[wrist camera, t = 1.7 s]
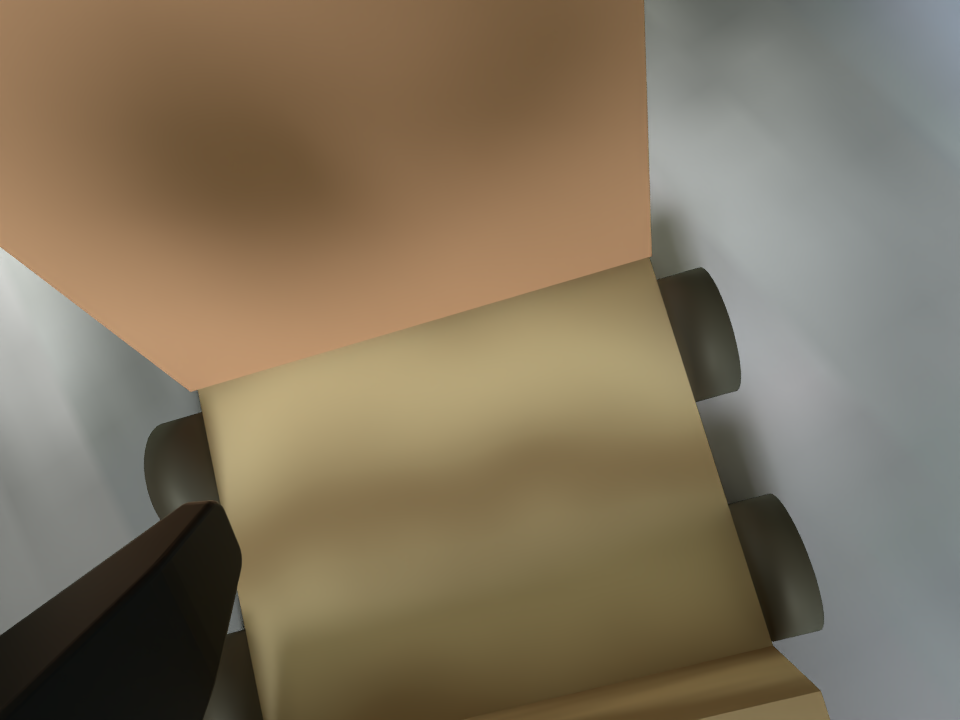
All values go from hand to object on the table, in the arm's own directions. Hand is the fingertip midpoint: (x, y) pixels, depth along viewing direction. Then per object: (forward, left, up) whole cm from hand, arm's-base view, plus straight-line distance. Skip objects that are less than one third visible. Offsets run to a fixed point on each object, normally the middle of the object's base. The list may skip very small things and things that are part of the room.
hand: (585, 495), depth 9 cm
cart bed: (-3, +2, -14) cm, 14 cm away
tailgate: (0, +7, -12) cm, 14 cm away
